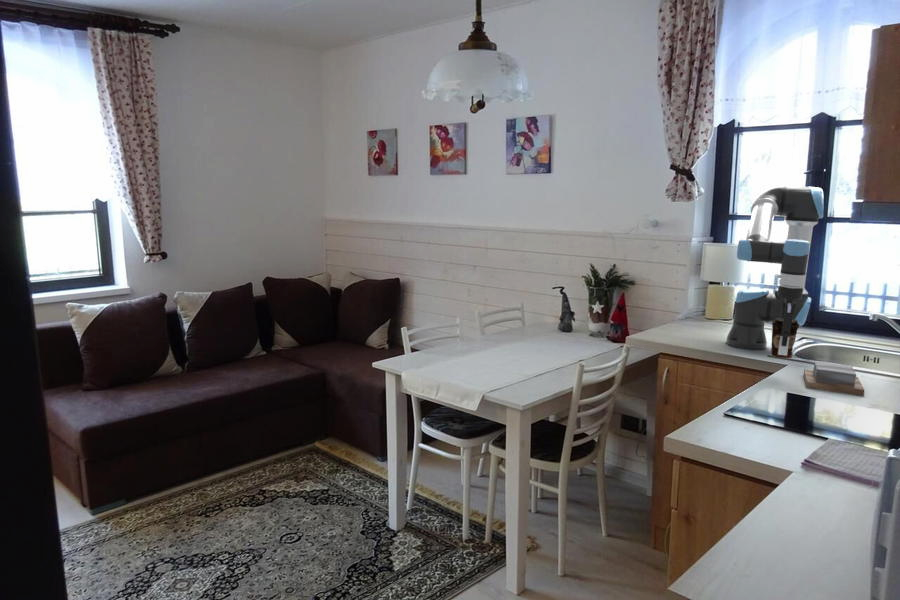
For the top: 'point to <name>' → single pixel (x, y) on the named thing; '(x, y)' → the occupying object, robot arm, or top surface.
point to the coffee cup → (776, 338)
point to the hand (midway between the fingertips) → (782, 351)
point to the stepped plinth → (833, 386)
